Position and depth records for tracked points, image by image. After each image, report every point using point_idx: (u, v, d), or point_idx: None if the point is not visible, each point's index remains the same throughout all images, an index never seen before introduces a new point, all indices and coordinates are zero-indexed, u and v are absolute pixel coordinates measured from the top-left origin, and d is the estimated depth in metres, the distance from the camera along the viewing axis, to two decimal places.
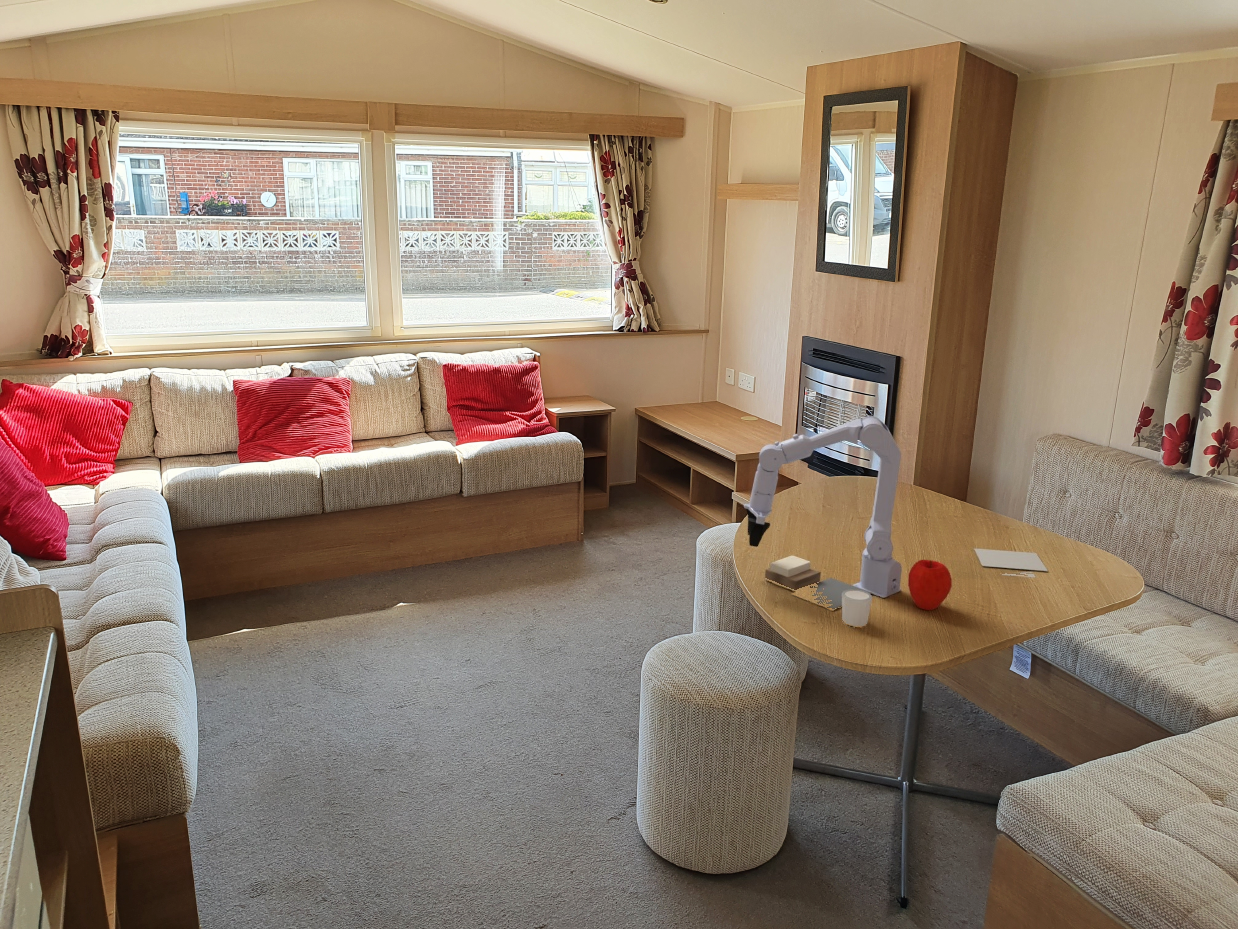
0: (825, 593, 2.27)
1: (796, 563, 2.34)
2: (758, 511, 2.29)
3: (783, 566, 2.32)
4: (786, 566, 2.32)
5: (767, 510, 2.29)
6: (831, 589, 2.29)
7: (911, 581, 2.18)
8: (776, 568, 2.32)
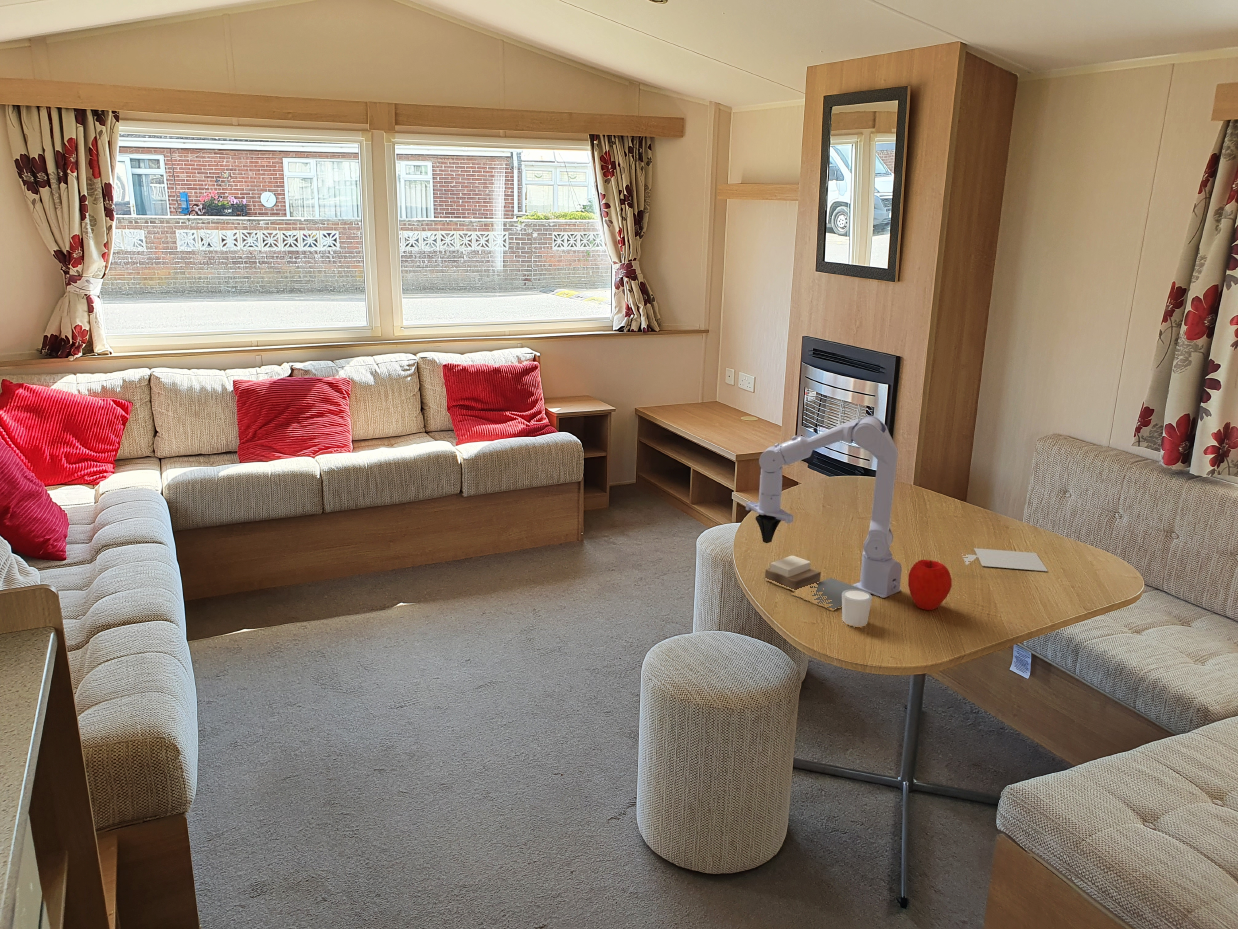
0: (825, 593, 2.27)
1: (796, 563, 2.34)
2: (776, 512, 2.35)
3: (783, 566, 2.32)
4: (786, 566, 2.32)
5: (780, 508, 2.37)
6: (831, 589, 2.29)
7: (911, 581, 2.18)
8: (776, 568, 2.32)
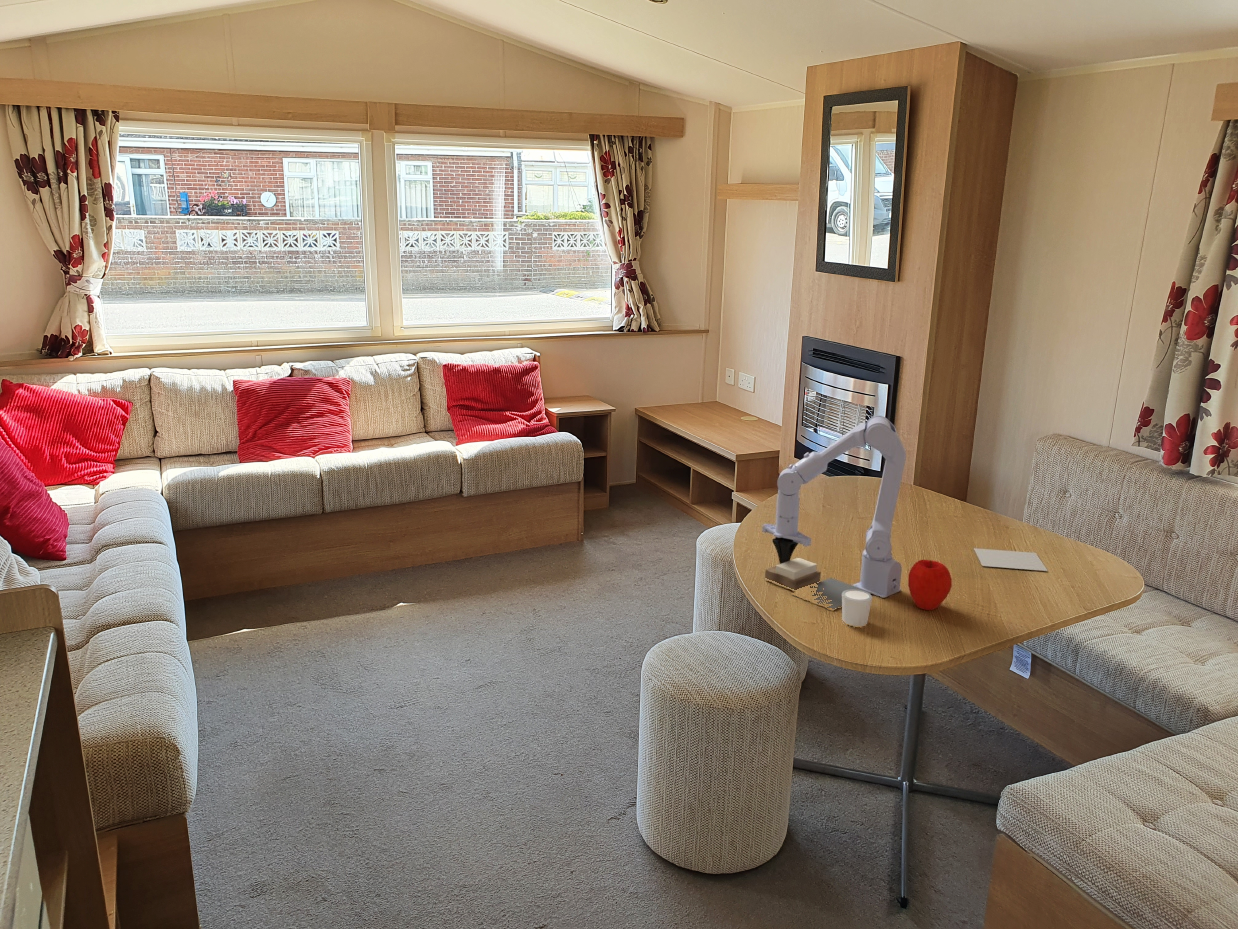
0: (825, 593, 2.27)
1: (802, 565, 2.33)
2: (794, 535, 2.31)
3: (789, 568, 2.30)
4: (792, 568, 2.30)
5: (797, 531, 2.33)
6: (831, 589, 2.29)
7: (911, 581, 2.18)
8: (782, 571, 2.31)
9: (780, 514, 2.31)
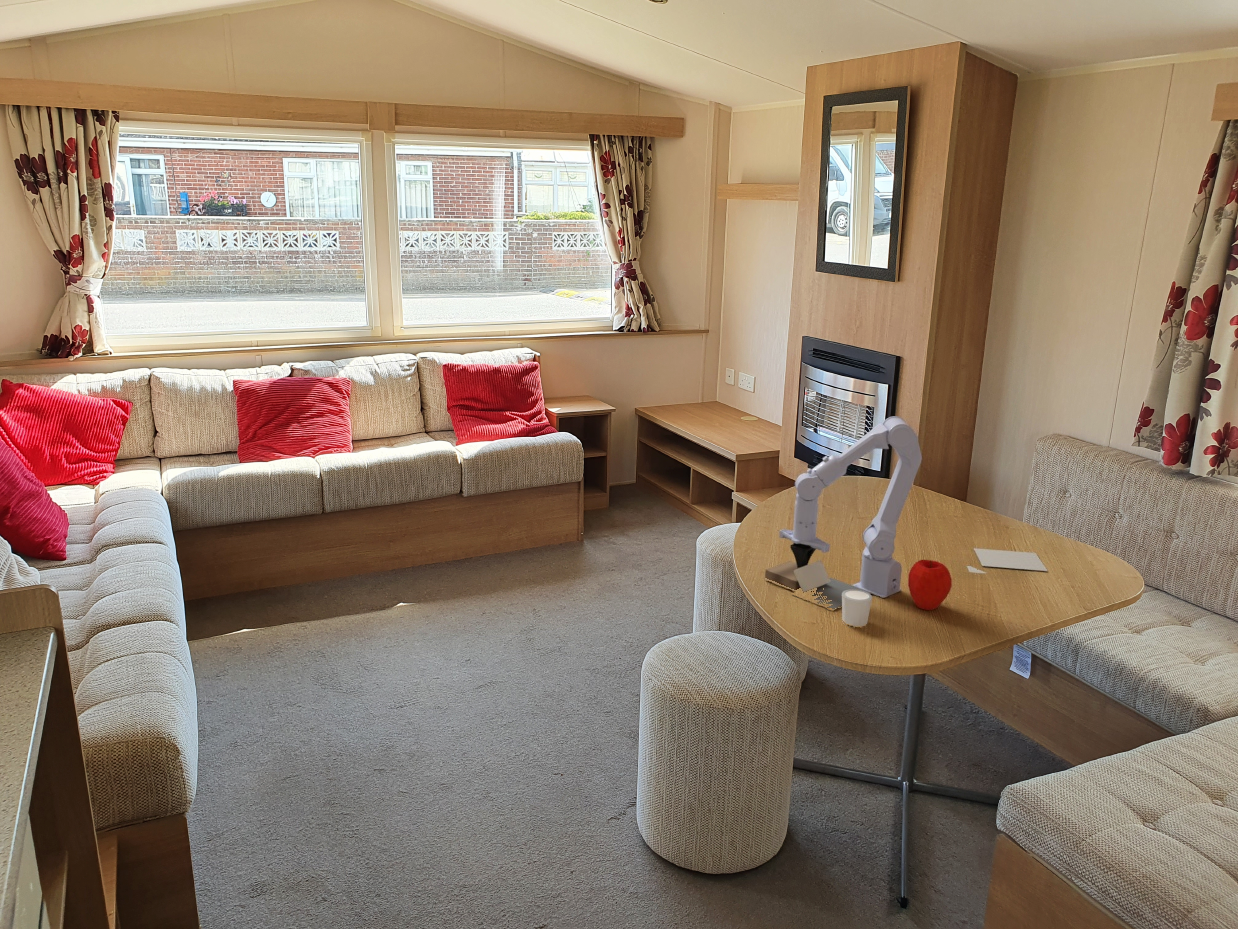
0: (825, 593, 2.27)
1: (818, 578, 2.29)
2: (812, 541, 2.27)
3: (807, 581, 2.26)
4: (809, 581, 2.27)
5: (815, 537, 2.29)
6: (831, 589, 2.29)
7: (911, 581, 2.18)
8: (800, 577, 2.27)
9: (800, 520, 2.26)
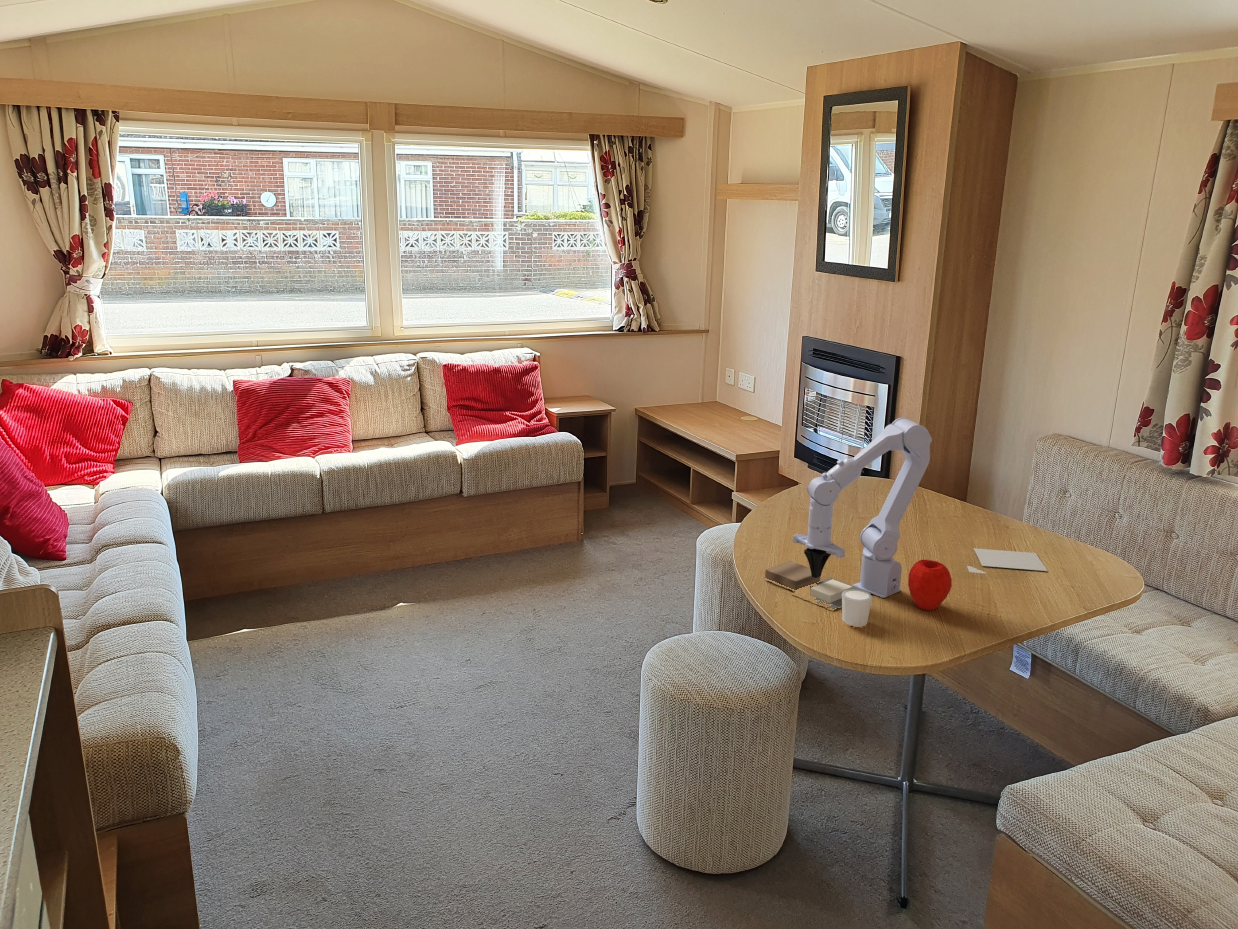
0: None
1: None
2: (827, 546, 2.24)
3: None
4: None
5: (830, 542, 2.26)
6: None
7: (911, 581, 2.18)
8: (822, 597, 2.22)
9: (817, 525, 2.23)
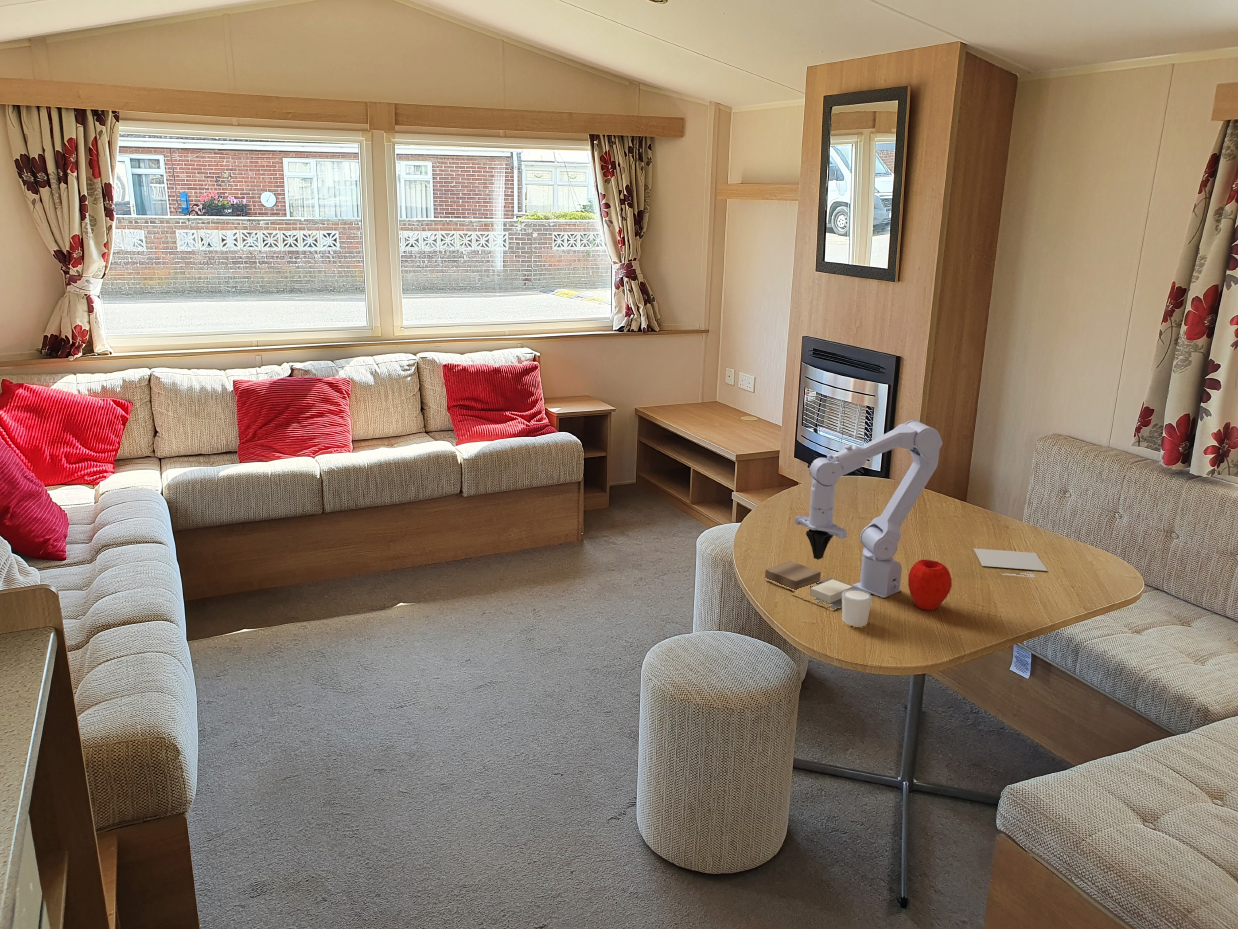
0: None
1: None
2: (829, 527, 2.22)
3: None
4: None
5: (832, 523, 2.24)
6: None
7: (911, 581, 2.18)
8: (822, 597, 2.22)
9: (819, 506, 2.21)
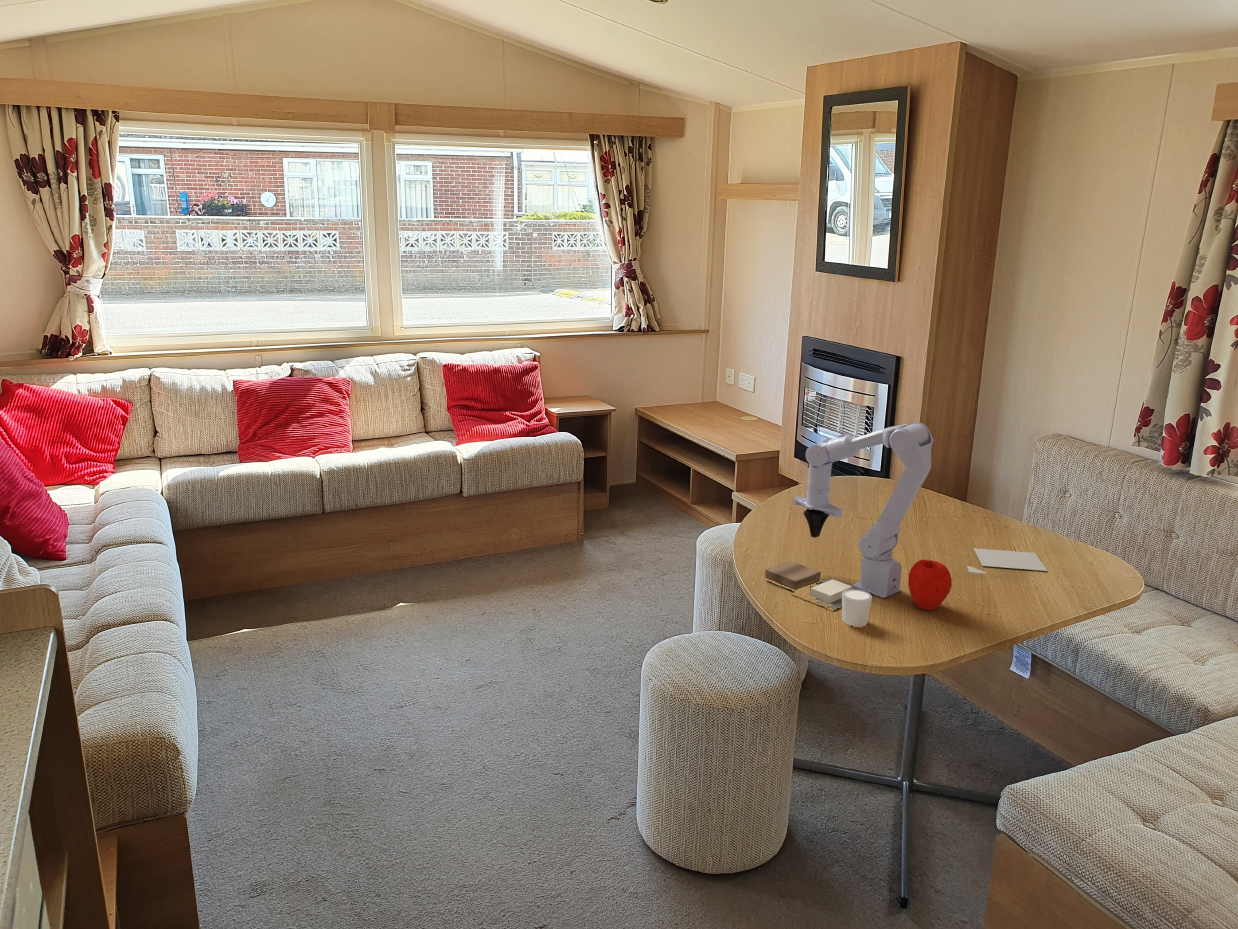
0: None
1: None
2: (825, 507, 2.36)
3: None
4: None
5: (828, 503, 2.38)
6: None
7: (911, 581, 2.18)
8: (822, 597, 2.22)
9: (808, 485, 2.37)
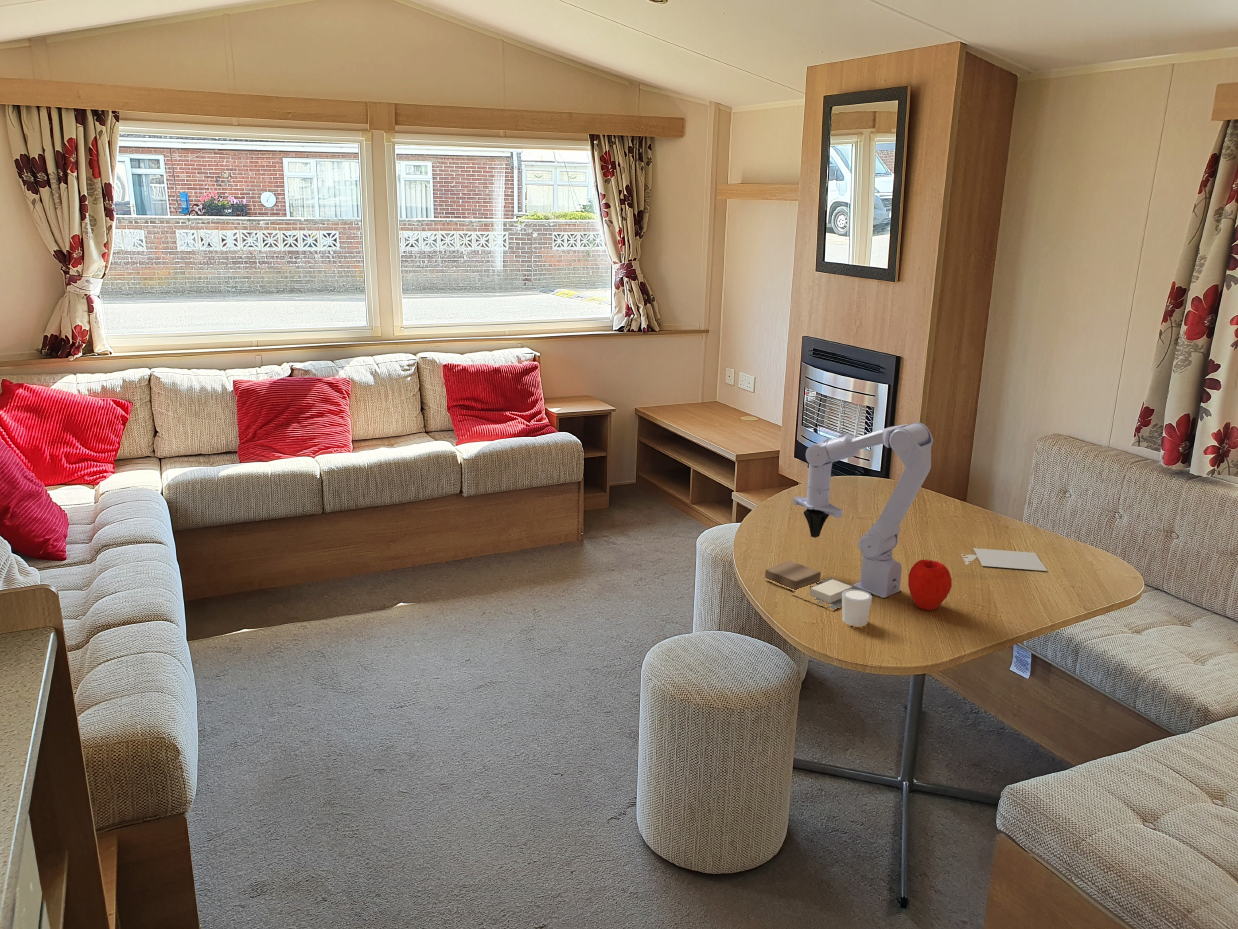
0: None
1: None
2: (825, 507, 2.36)
3: None
4: None
5: (828, 503, 2.38)
6: None
7: (911, 581, 2.18)
8: (822, 597, 2.22)
9: (808, 485, 2.37)
